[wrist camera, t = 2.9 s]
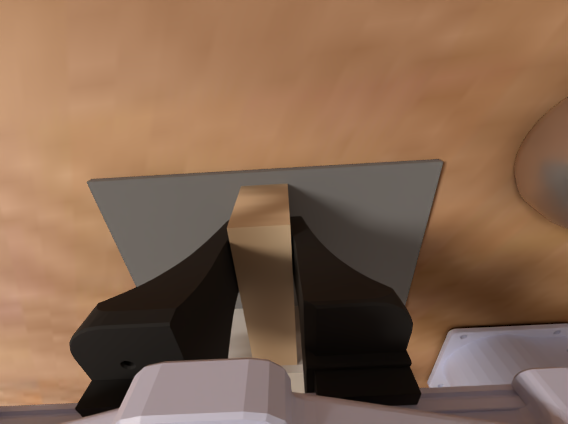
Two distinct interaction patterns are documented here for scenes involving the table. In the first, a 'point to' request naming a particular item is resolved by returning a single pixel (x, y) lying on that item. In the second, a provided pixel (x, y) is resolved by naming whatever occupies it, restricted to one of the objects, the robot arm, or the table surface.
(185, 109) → the table surface
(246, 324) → the tan upright post
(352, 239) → the mat
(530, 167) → the plastic bottle
